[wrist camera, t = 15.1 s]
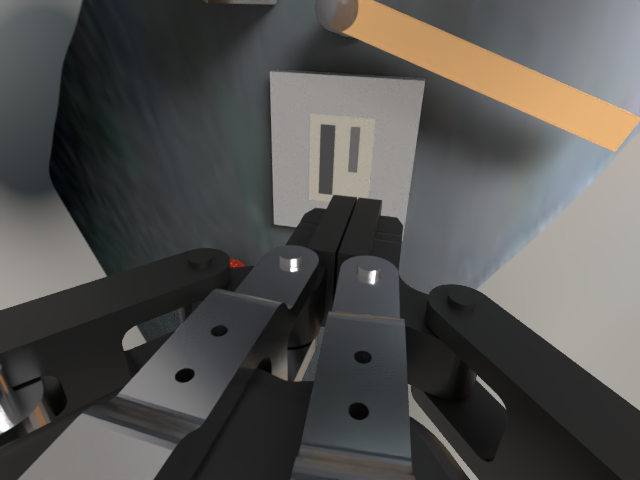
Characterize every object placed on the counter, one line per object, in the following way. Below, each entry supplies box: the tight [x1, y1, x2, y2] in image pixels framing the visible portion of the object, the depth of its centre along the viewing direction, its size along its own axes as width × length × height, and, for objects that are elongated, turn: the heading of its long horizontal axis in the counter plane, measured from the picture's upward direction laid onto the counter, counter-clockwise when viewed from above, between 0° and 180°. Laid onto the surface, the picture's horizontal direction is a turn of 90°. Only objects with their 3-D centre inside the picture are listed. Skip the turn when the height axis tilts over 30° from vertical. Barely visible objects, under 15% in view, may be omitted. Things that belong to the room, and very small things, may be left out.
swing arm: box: [316, 0, 640, 152], centre depth 36 cm, size 28×4×3 cm, turn 69°
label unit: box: [270, 69, 425, 241], centre depth 48 cm, size 18×16×2 cm
